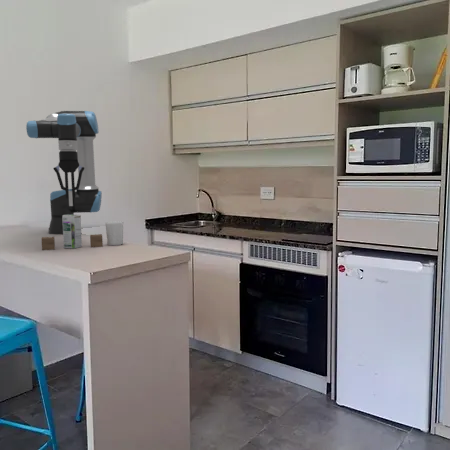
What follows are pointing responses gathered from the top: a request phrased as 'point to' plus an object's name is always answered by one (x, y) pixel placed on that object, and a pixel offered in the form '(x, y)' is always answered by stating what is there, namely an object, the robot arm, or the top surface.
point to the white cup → (114, 233)
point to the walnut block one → (96, 240)
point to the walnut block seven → (48, 243)
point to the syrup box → (72, 231)
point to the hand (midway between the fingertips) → (71, 205)
